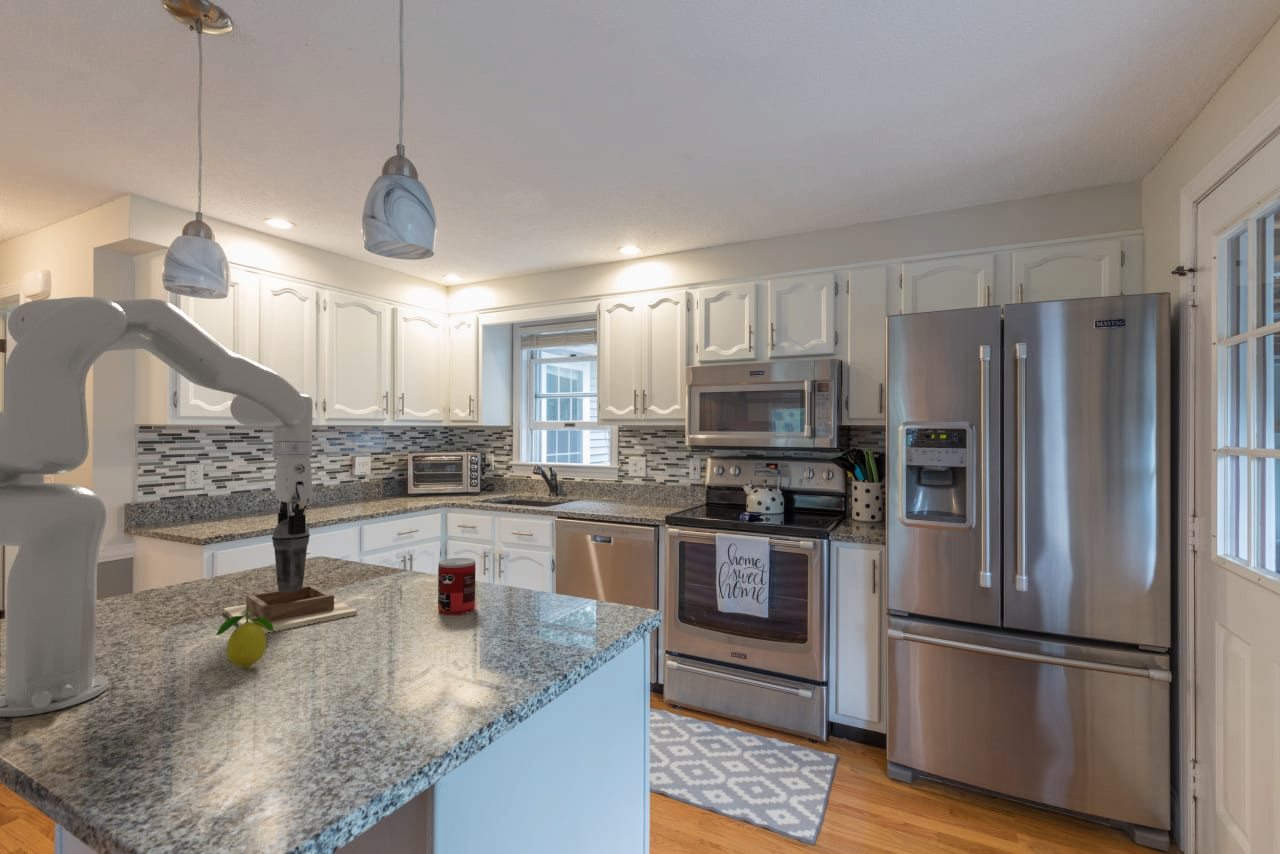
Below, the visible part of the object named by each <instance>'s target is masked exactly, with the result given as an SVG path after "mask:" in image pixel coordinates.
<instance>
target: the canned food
mask: <svg viewBox="0 0 1280 854" xmlns="http://www.w3.org/2000/svg"><path fill="white" fill-rule="evenodd" d="M437 565H438V570H437V573H438V575H437V577H438V578H437V579H438V580H437V581H438V582H437V609H438V612H439V613H440V614H442V615H446V614H459V615H463V614H462V613H465V614H467V613H466V612H469V613H471V612H473V611H474V609H475V608H476V607H475V606H476V570H477V569H476V559H473V558H469V557H453V558H452V557H451V558H445V559H443V560H442V559H441V560H439V561H438V564H437ZM472 610H473V611H472ZM470 611H471V612H470Z"/></svg>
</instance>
